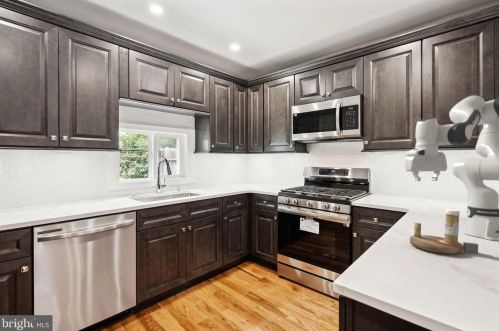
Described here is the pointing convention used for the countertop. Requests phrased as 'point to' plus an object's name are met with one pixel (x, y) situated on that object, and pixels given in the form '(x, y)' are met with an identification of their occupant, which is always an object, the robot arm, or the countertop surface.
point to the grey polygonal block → (470, 247)
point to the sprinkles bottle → (452, 226)
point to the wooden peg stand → (433, 242)
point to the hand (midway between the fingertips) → (426, 180)
